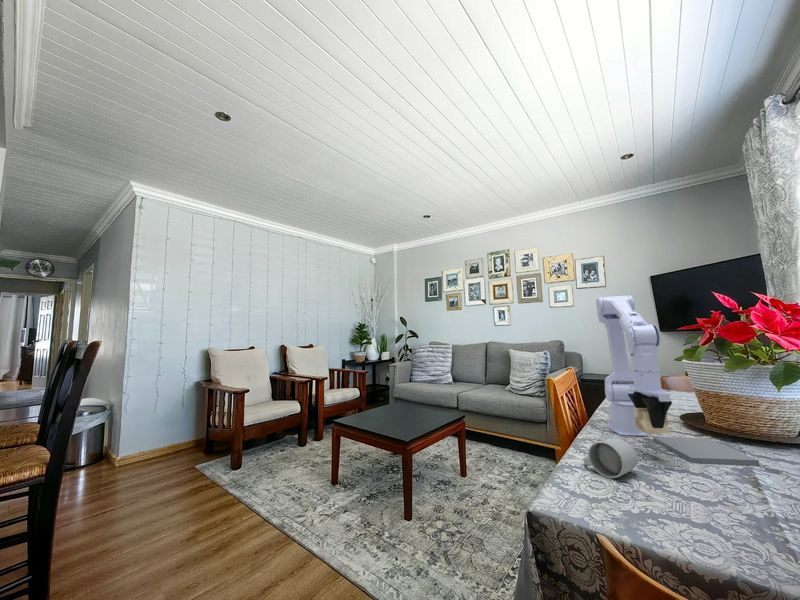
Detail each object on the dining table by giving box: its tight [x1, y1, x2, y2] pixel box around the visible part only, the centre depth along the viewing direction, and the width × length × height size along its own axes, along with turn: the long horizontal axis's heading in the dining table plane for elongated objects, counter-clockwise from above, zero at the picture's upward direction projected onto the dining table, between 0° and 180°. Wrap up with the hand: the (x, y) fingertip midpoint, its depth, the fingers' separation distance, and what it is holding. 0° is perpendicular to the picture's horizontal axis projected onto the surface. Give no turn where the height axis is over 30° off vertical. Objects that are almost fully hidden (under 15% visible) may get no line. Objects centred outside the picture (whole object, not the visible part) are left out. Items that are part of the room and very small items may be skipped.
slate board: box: [652, 436, 760, 466], centre depth 85 cm, size 16×14×1 cm
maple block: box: [634, 408, 670, 435], centre depth 83 cm, size 5×5×5 cm
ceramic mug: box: [582, 438, 639, 479], centre depth 76 cm, size 11×8×8 cm
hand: (651, 424), depth 82 cm, fingers closed on maple block, 5 cm apart
